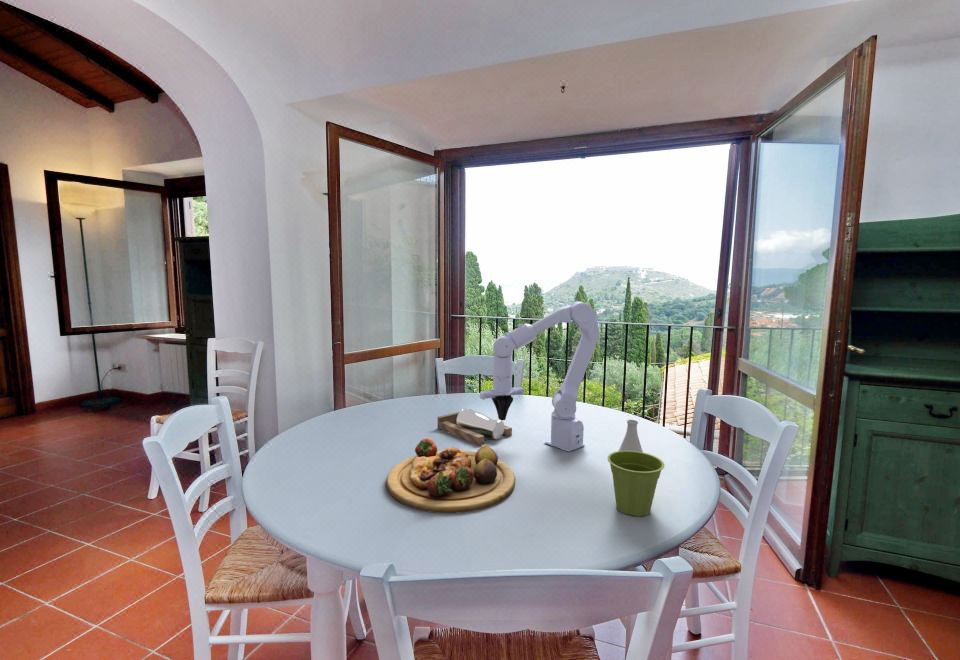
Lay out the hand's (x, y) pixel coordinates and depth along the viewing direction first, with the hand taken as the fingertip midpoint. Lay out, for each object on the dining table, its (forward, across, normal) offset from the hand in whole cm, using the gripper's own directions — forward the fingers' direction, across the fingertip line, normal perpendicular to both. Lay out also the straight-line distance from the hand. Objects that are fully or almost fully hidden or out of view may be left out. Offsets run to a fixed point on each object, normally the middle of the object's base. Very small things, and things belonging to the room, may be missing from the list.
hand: (501, 419), depth 144 cm
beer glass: (+4, +1, +3) cm, 5 cm away
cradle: (+7, -3, +12) cm, 14 cm away
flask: (+8, +29, -25) cm, 39 cm away
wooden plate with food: (+8, -25, -18) cm, 32 cm away
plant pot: (+8, +6, -49) cm, 50 cm away
